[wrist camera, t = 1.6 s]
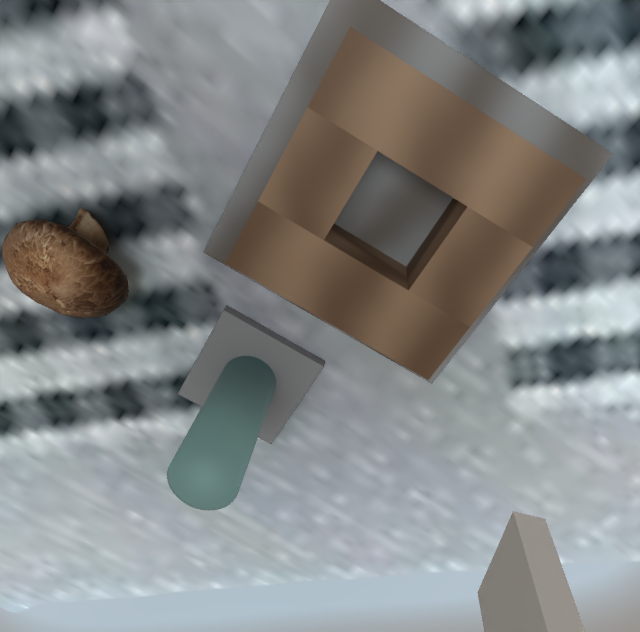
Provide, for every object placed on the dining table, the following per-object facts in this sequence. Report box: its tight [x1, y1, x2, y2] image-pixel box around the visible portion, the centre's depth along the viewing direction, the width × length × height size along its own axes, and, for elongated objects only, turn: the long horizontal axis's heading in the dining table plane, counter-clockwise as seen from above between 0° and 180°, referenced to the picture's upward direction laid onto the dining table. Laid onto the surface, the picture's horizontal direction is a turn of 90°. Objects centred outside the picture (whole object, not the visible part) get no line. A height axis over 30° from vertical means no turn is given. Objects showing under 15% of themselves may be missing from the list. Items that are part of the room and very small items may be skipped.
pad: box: [178, 306, 325, 444], centre depth 41 cm, size 8×8×1 cm
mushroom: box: [2, 208, 129, 318], centre depth 37 cm, size 8×8×6 cm
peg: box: [167, 356, 276, 510], centre depth 35 cm, size 4×4×11 cm
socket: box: [204, 0, 613, 383], centre depth 33 cm, size 18×18×5 cm
